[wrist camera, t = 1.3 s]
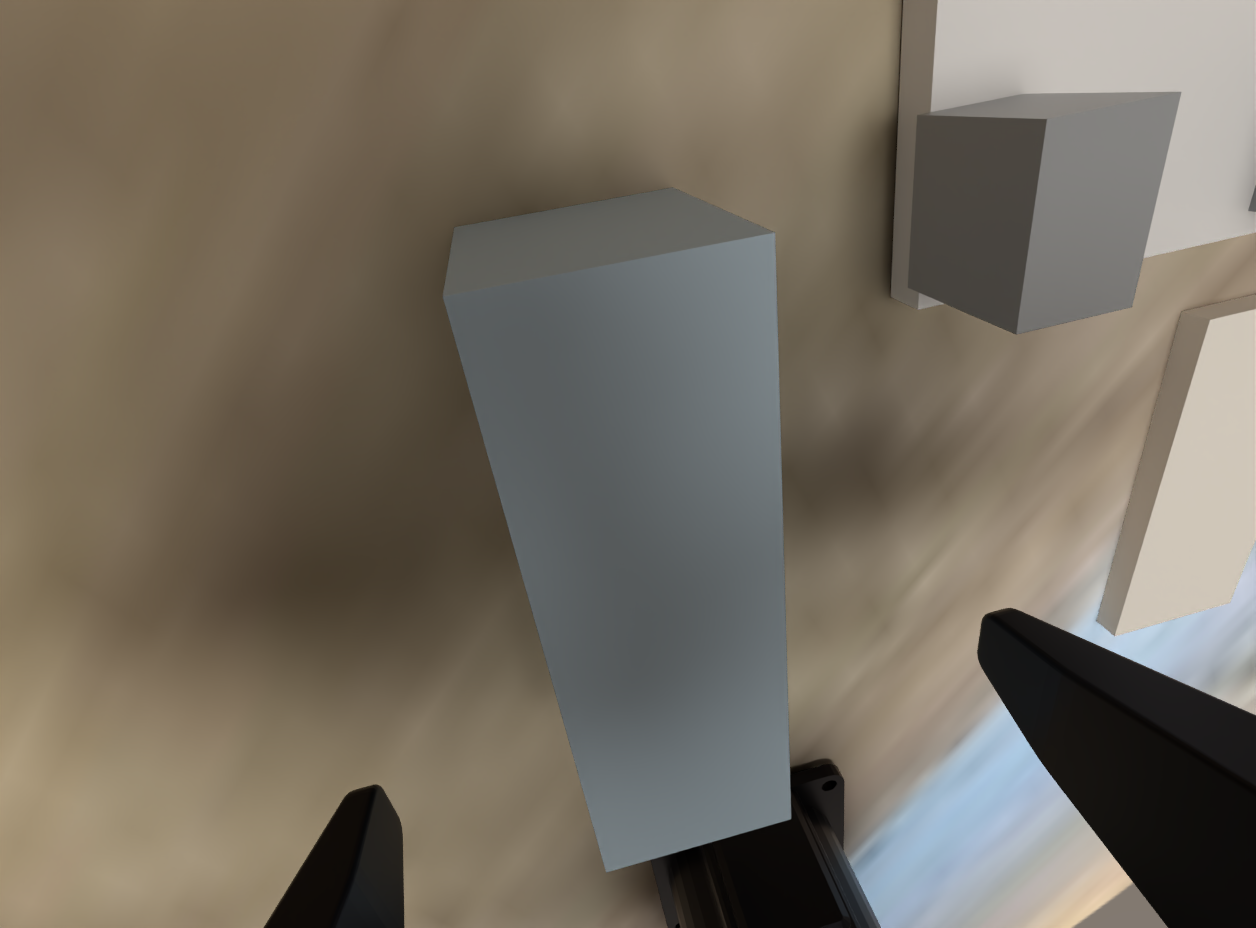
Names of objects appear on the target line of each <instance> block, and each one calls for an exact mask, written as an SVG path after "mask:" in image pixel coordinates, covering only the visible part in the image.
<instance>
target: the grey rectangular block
mask: <svg viewBox="0 0 1256 928" xmlns="http://www.w3.org/2000/svg"><path fill="white" fill-rule="evenodd" d="M443 300H444V303H445V307H446V310H447V314H448V317H449V321H450V324H451V328H452V331H453V335H454V338H455V342H456V345H457V349H458V352H459V356H460V359H461V363H462V367H463V370H464V374H465V377H466V381H467V384H468V388H469V391H470V395H471V398H472V402H473V405H474V409H475V412H476V416H477V419H478V423H479V426H480V430H481V433H482V437H483V440H484V444H485V447H486V451H487V455H488V458H489V462H490V465H491V469H492V472H493V476H494V479H495V483H496V486H497V490H498V493H499V497H500V500H501V504H502V507H503V511H504V514H505V518H506V521H507V525H508V528H509V532H510V535H511V539H512V543H513V546H514V550H515V553H516V557H517V560H518V564H519V567H520V571H521V574H522V578H523V581H524V585H525V588H526V592H527V595H528V599H529V602H530V606H531V609H532V613H533V616H534V620H535V623H536V627H537V631H538V634H539V638H540V641H541V645H542V648H543V652H544V655H545V659H546V662H547V666H548V669H549V673H550V676H551V680H552V683H553V687H554V690H555V694H556V697H557V701H558V704H559V708H560V711H561V715H562V718H563V722H564V726H565V729H566V733H567V736H568V740H569V743H570V747H571V750H572V754H573V757H574V761H575V764H576V768H577V771H578V775H579V778H580V782H581V785H582V789H583V792H584V796H585V799H586V803H587V806H588V810H589V814H590V817H591V821H592V824H593V828H594V831H595V835H596V838H597V842H598V845H599V849H600V852H601V856H602V859H603V863H604V866H605V870H606V873H607V872H610V871H613V870H617V869H620V868H624V867H627V866H631V865H634V864H638V863H641V862H645V861H648V860H652V859H655V858H658V857H662V856H665V855H669V854H672V853H676V852H679V851H683V850H686V849H690V848H693V847H697V846H700V845H703V844H707V843H710V842H714V841H717V840H721V839H724V838H728V837H731V836H735V835H738V834H741V833H745V832H748V831H752V830H755V829H759V828H762V827H766V826H769V825H773V824H776V823H780V822H783V821H786V820H790V819H791V791H790V754H789V718H788V682H787V645H786V609H785V573H784V536H783V500H782V464H781V427H780V391H779V355H778V318H777V282H776V246H775V232H773V231H770V230H768V229H766V228H764V227H761V226H759V225H757V224H754V223H752V222H750V221H748V220H745V219H743V218H741V217H739V216H736V215H734V214H732V213H730V212H727V211H725V210H723V209H720V208H718V207H716V206H714V205H711V204H709V203H707V202H705V201H702V200H700V199H698V198H696V197H693V196H691V195H689V194H687V193H684V192H682V191H680V190H677V189H675V188H667V189H662V190H656V191H651V192H645V193H640V194H634V195H629V196H623V197H618V198H612V199H607V200H601V201H596V202H590V203H585V204H579V205H574V206H568V207H563V208H557V209H552V210H546V211H541V212H535V213H530V214H524V215H519V216H513V217H508V218H502V219H497V220H492V221H486V222H481V223H475V224H470V225H464V226H459V227H454V232H453V238H452V244H451V250H450V256H449V262H448V268H447V274H446V280H445V286H444V291H443Z"/></svg>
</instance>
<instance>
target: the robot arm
mask: <svg viewBox="0 0 1256 928" xmlns="http://www.w3.org/2000/svg"><path fill="white" fill-rule="evenodd" d="M977 654H978V660H979V663H980V665H981V667H982V669H983V671H984V673H985V674H986V676H987V677H988V679H989V681H990V682H991V684H992V685H993V687H994V689H995V690H996V692H997V693H998V695H999V697H1000V698H1001V700H1002V701H1003V703H1004V705H1005V706H1006V708H1007V709H1008V711H1009V713H1010V714H1011V716H1012V717H1013V719H1014V720H1015V722H1016V724H1017V725H1018V727H1019V728H1020V730H1021V732H1022V733H1023V735H1024V736H1025V738H1026V740H1027V741H1028V743H1029V744H1030V746H1031V747H1032V749H1033V750H1034V752H1035V754H1036V755H1037V757H1038V758H1039V760H1040V761H1041V762H1042V764H1043V765H1044V766H1045V768H1046V769H1047V771H1048V772H1049V773H1050V775H1051V776H1052V777H1053V779H1054V780H1055V781H1056V782H1057V784H1058V785H1059V786H1060V788H1061V789H1062V790H1063V792H1064V793H1065V794H1066V795H1067V797H1068V798H1069V799H1070V801H1071V802H1072V803H1073V805H1074V806H1075V807H1076V809H1077V810H1078V811H1079V812H1080V814H1081V815H1082V816H1083V818H1084V819H1085V820H1086V822H1087V823H1088V824H1089V825H1090V827H1091V828H1092V829H1093V831H1094V832H1095V833H1096V835H1097V836H1098V837H1099V838H1100V840H1101V841H1102V842H1103V844H1104V845H1105V846H1106V848H1107V849H1108V850H1109V851H1110V853H1111V854H1112V855H1113V857H1114V858H1115V859H1116V861H1117V862H1118V863H1119V864H1120V866H1121V867H1122V868H1123V870H1124V871H1125V872H1126V874H1127V875H1128V876H1129V877H1130V879H1131V880H1132V881H1133V883H1134V884H1135V885H1136V887H1137V888H1138V889H1139V890H1140V892H1141V893H1142V894H1143V896H1144V897H1145V898H1146V900H1147V901H1148V902H1149V903H1150V904H1151V906H1152V907H1153V909H1154V910H1155V911H1156V913H1158V915H1159V916H1160V918H1161V919H1162V920H1163V922H1164V923H1165V924H1166V926H1167V927H1168V928H1256V715H1254V714H1252V713H1249V712H1247V711H1245V710H1243V709H1240V708H1238V707H1236V706H1234V705H1231V704H1229V703H1227V702H1225V701H1222V700H1220V699H1218V698H1216V697H1213V696H1211V695H1209V694H1206V693H1204V692H1202V691H1200V690H1197V689H1195V688H1193V687H1191V686H1188V685H1186V684H1184V683H1182V682H1179V681H1177V680H1175V679H1173V678H1170V677H1168V676H1166V675H1164V674H1161V673H1159V672H1157V671H1155V670H1152V669H1150V668H1148V667H1146V666H1143V665H1141V664H1139V663H1137V662H1134V661H1132V660H1130V659H1127V658H1125V657H1123V656H1121V655H1118V654H1116V653H1114V652H1112V651H1109V650H1107V649H1105V648H1103V647H1100V646H1098V645H1096V644H1094V643H1091V642H1089V641H1087V640H1085V639H1082V638H1080V637H1078V636H1076V635H1073V634H1071V633H1069V632H1067V631H1064V630H1062V629H1060V628H1058V627H1055V626H1053V625H1051V624H1048V623H1046V622H1044V621H1042V620H1039V619H1037V618H1035V617H1033V616H1030V615H1028V614H1026V613H1024V612H1021V611H1019V610H1016V609H1013V608H1005V609H1001V610H998V611H994V612H991V613H988V614H986V615H985V616H984V617H983V619H982V622H981V629H980V636H979V643H978V650H977ZM790 791H791V819H790V820H786V821H783V822H780V823H776V824H773V825H769V826H766V827H762V828H759V829H755V830H752V831H748V832H745V833H741V834H738V835H735V836H731V837H728V838H724V839H721V840H717V841H714V842H710V843H707V844H703V845H700V846H697V847H693V848H690V849H686V850H683V851H679V852H676V853H672V854H669V855H665V856H662V857H658V858H655V859H652V860H651V863H652V867H653V871H654V875H655V879H656V882H657V886H658V890H659V894H660V898H661V902H662V906H663V910H664V914H665V918H666V922H667V926H668V928H881V927H880V925H879V923H878V920H877V918H876V916H875V914H874V912H873V910H872V908H871V906H870V904H869V902H868V900H867V898H866V896H865V894H864V892H863V890H862V888H861V886H860V884H859V882H858V880H857V878H856V876H855V874H854V872H853V870H852V868H851V866H850V863H849V861H848V859H847V857H846V855H845V853H844V851H843V847H844V779H843V777H842V775H841V773H840V771H839V769H838V768H837V766H835V765H833V764H826V765H821V766H818V767H815V768H811V769H808V770H804V771H801V772H798V773H794V774H791V775H790ZM264 928H404V879H403V833H402V826H401V822H400V819H399V817H398V815H397V813H396V811H395V809H394V808H393V806H392V804H391V802H390V800H389V799H388V797H387V795H386V793H385V792H384V790H383V789H382V787H381V786H379V785H371V786H367V787H363V788H360V789H356V790H353V791H351V792H349V793H348V794H347V795H346V796H345V797H344V799H343V800H342V802H341V803H340V805H339V807H338V808H337V810H336V812H335V813H334V815H333V816H332V818H331V820H330V821H329V823H328V824H327V826H326V828H325V829H324V831H323V833H322V834H321V836H320V837H319V839H318V841H317V842H316V844H315V845H314V847H313V849H312V850H311V852H310V854H309V855H308V857H307V858H306V860H305V862H304V863H303V865H302V866H301V868H300V870H299V871H298V873H297V875H296V876H295V878H294V879H293V881H292V883H291V884H290V886H289V887H288V889H287V891H286V892H285V894H284V896H283V897H282V899H281V900H280V902H279V904H278V905H277V907H276V908H275V910H274V912H273V913H272V915H271V917H270V918H269V920H268V921H267V923H266V925H265V926H264Z"/></svg>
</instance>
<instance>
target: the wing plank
mask: <svg viewBox="0 0 1256 928" xmlns="http://www.w3.org/2000/svg"><path fill="white" fill-rule="evenodd" d="M1255 540H1256V294H1255V295H1250V296H1246V297H1242V298H1238V299H1233V300H1229V301H1225V302H1220V303H1216V304H1212V305H1207V306H1203V307H1199V308H1195V309H1190V310H1186V311H1182V312H1181V316H1180V319H1179V323H1178V327H1177V330H1176V334H1175V337H1174V341H1173V345H1172V348H1171V352H1170V356H1169V359H1168V363H1167V366H1166V370H1165V374H1164V377H1163V381H1162V385H1161V388H1160V392H1159V395H1158V399H1157V403H1156V406H1155V410H1154V414H1153V417H1152V421H1151V424H1150V428H1149V432H1148V435H1147V439H1146V443H1145V446H1144V450H1143V454H1142V457H1141V461H1140V464H1139V468H1138V472H1137V475H1136V479H1135V483H1134V486H1133V490H1132V493H1131V497H1130V501H1129V504H1128V508H1127V512H1126V515H1125V519H1124V522H1123V526H1122V530H1121V533H1120V537H1119V541H1118V544H1117V548H1116V551H1115V555H1114V559H1113V562H1112V566H1111V570H1110V573H1109V577H1108V580H1107V584H1106V588H1105V591H1104V595H1103V599H1102V602H1101V606H1100V610H1099V613H1098V617H1097V620H1096V621H1097V622H1098V623H1099V624H1101V625H1102V626H1103V627H1104V628H1105V629H1107V630H1108V631H1109V632H1110V633H1111V634H1113V635H1114V636H1117V635H1121V634H1124V633H1128V632H1131V631H1135V630H1138V629H1142V628H1145V627H1148V626H1152V625H1155V624H1159V623H1162V622H1166V621H1169V620H1173V619H1176V618H1180V617H1183V616H1186V615H1190V614H1193V613H1197V612H1200V611H1204V610H1207V609H1211V608H1214V607H1217V606H1221V605H1224V604H1228V603H1230V601H1231V599H1232V596H1233V594H1234V591H1235V589H1236V587H1237V584H1238V582H1239V579H1240V577H1241V574H1242V572H1243V569H1244V567H1245V564H1246V562H1247V560H1248V557H1249V555H1250V552H1251V550H1252V547H1253V545H1254V542H1255Z"/></svg>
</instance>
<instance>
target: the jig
mask: <svg viewBox="0 0 1256 928" xmlns="http://www.w3.org/2000/svg"><path fill="white" fill-rule="evenodd" d="M1255 232H1256V0H903V19H902V43H901V66H900V90H899V113H898V137H897V160H896V184H895V208H894V231H893V255H892V278H891V297H892V298H894V299H896V300H898V301H900V302H902V303H904V304H907V305H909V306H911V307H913V308H915V309H917V310H920V309H924V308H928V307H933V306H937V305H941V304H947V305H949V306H951V307H954V308H956V309H958V310H961V311H963V312H965V313H968V314H970V315H972V316H974V317H977V318H979V319H981V320H984V321H986V322H988V323H991V324H993V325H995V326H998V327H1000V328H1002V329H1005V330H1007V331H1009V332H1012V333H1014V334H1020V333H1025V332H1029V331H1033V330H1037V329H1042V328H1046V327H1050V326H1054V325H1059V324H1063V323H1067V322H1071V321H1075V320H1080V319H1084V318H1088V317H1092V316H1097V315H1101V314H1105V313H1109V312H1113V311H1118V310H1122V309H1126V308H1130V307H1132V305H1133V300H1134V296H1135V292H1136V287H1137V283H1138V279H1139V274H1140V270H1141V266H1142V261H1143V258H1146V257H1151V256H1155V255H1160V254H1164V253H1168V252H1173V251H1177V250H1181V249H1186V248H1190V247H1194V246H1199V245H1203V244H1207V243H1212V242H1216V241H1221V240H1225V239H1229V238H1234V237H1238V236H1242V235H1247V234H1251V233H1255Z"/></svg>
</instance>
